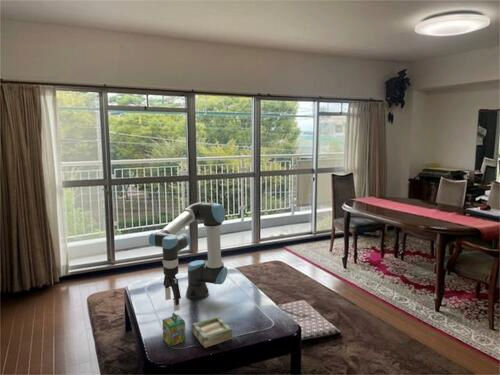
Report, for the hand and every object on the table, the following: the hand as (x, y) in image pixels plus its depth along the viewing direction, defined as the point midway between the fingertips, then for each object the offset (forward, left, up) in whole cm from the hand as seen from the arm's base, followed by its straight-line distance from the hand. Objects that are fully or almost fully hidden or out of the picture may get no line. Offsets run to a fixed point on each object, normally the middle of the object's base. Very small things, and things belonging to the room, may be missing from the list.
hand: (172, 304), depth 189 cm
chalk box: (0, 0, -21) cm, 21 cm away
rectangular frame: (+7, +19, -21) cm, 29 cm away
